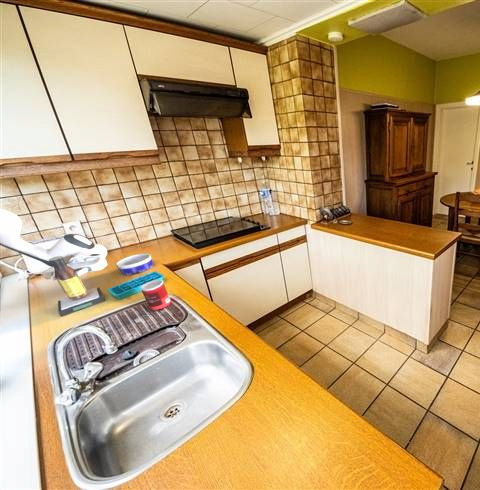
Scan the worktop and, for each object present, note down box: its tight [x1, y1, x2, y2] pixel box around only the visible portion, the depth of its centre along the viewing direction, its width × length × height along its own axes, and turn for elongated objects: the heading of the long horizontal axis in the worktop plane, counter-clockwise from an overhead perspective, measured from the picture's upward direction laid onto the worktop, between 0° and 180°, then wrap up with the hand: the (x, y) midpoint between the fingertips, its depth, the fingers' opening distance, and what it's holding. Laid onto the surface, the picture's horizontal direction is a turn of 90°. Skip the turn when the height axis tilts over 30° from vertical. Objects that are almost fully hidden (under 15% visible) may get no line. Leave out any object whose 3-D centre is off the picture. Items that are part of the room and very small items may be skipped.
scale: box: [57, 287, 105, 317], centre depth 121 cm, size 14×13×3 cm
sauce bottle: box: [49, 256, 88, 300], centre depth 116 cm, size 6×6×20 cm
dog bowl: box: [115, 253, 155, 276], centre depth 150 cm, size 15×15×6 cm
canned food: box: [141, 280, 172, 312], centre depth 114 cm, size 8×8×11 cm
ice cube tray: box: [107, 270, 165, 300], centre depth 131 cm, size 12×20×3 cm, turn 147°
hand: (65, 276), depth 115 cm, fingers closed on sauce bottle, 6 cm apart
